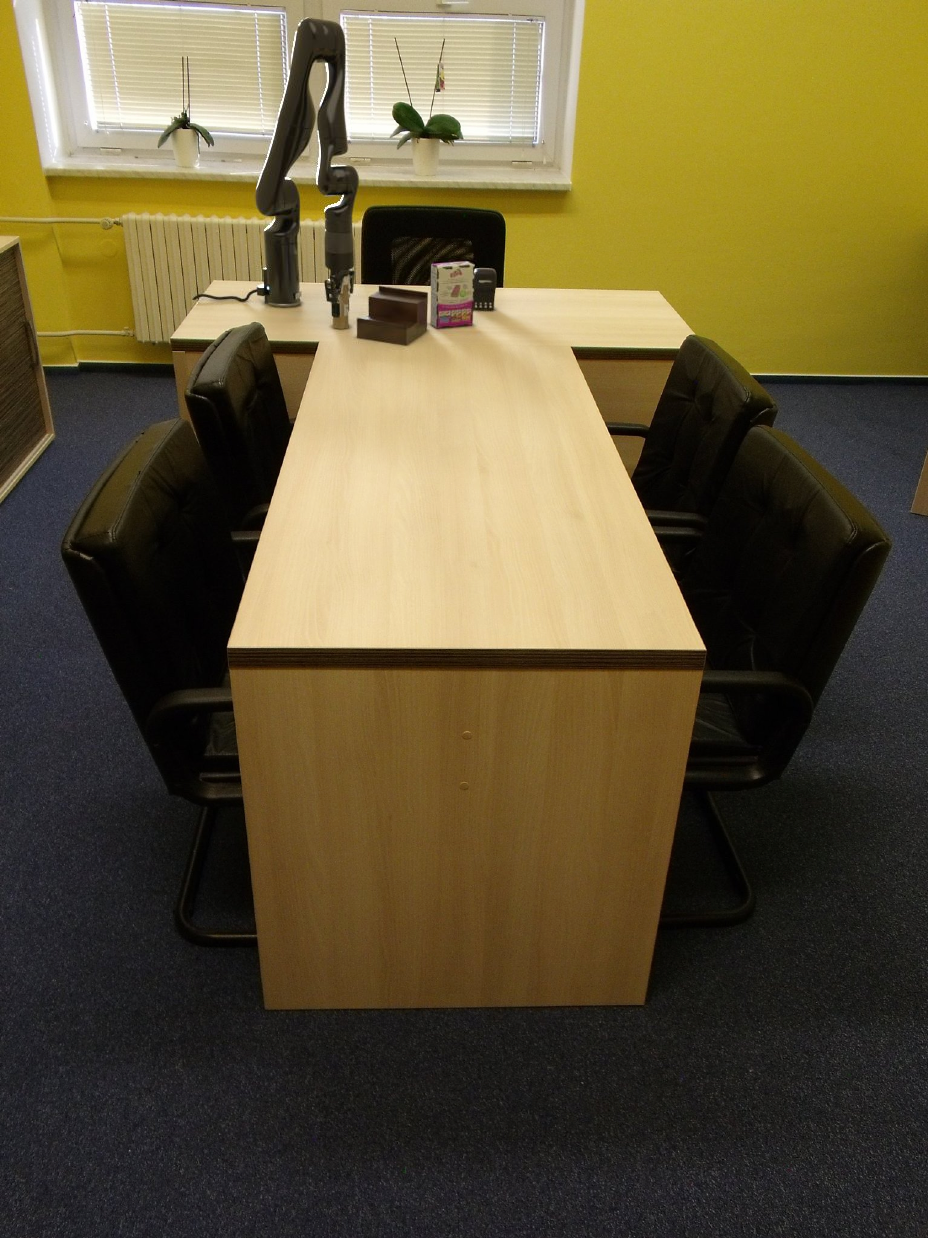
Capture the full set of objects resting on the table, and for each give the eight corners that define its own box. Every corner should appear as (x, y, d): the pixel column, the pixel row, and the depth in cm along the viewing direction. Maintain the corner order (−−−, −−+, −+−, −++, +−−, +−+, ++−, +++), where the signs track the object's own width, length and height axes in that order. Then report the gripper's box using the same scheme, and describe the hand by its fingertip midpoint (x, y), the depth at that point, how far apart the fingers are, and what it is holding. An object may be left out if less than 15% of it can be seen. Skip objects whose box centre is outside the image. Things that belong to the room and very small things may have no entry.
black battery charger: (471, 311, 292) (473, 270, 286) (470, 307, 296) (472, 267, 289) (495, 311, 293) (497, 271, 287) (494, 308, 296) (496, 267, 290)
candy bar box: (465, 320, 284) (468, 260, 275) (473, 325, 280) (476, 264, 271) (428, 323, 279) (430, 262, 271) (436, 329, 276) (438, 267, 267)
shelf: (356, 337, 266) (356, 298, 260) (379, 323, 278) (379, 285, 272) (406, 345, 262) (406, 305, 257) (427, 330, 274) (428, 292, 269)
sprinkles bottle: (352, 327, 273) (351, 276, 266) (336, 329, 271) (335, 278, 264) (344, 323, 276) (343, 272, 269) (329, 325, 274) (327, 274, 267)
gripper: (337, 241, 269) (339, 305, 278) (313, 252, 258) (315, 319, 267) (363, 244, 267) (364, 309, 277) (340, 255, 256) (341, 322, 265)
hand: (340, 313), depth 272 cm, fingers open, 5 cm apart
